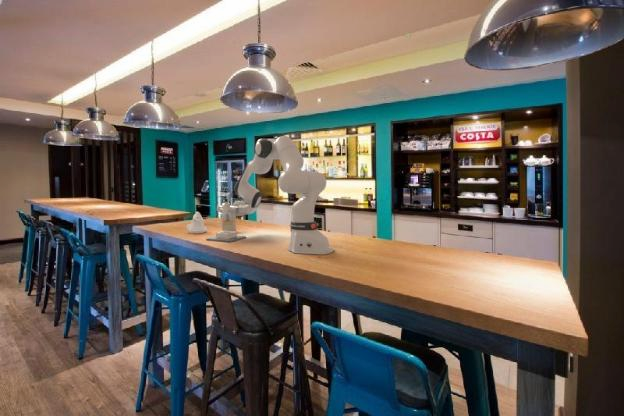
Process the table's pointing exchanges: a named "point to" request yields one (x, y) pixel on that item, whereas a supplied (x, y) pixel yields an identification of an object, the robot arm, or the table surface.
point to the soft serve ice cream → (197, 224)
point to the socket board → (226, 236)
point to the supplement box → (229, 223)
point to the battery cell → (225, 211)
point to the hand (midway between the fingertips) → (225, 210)
